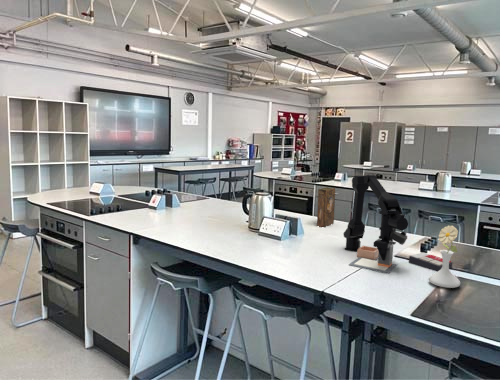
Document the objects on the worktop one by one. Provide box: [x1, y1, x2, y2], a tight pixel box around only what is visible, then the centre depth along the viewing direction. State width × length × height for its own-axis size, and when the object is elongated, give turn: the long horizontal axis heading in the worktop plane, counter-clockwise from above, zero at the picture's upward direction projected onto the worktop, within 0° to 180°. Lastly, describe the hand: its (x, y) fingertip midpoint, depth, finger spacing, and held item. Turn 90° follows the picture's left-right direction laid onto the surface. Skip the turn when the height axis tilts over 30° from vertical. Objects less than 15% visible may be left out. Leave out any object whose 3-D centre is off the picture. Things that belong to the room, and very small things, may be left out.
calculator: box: [408, 252, 453, 272], centre depth 177 cm, size 11×4×15 cm
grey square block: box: [377, 243, 394, 267], centre depth 173 cm, size 5×5×10 cm
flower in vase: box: [428, 225, 461, 289], centre depth 150 cm, size 13×11×25 cm
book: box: [316, 187, 336, 228], centre depth 258 cm, size 16×6×25 cm, turn 144°
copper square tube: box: [356, 245, 379, 260], centre depth 188 cm, size 8×8×4 cm
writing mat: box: [348, 257, 398, 274], centre depth 175 cm, size 18×14×1 cm
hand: (385, 258), depth 174 cm, fingers closed on grey square block, 5 cm apart
